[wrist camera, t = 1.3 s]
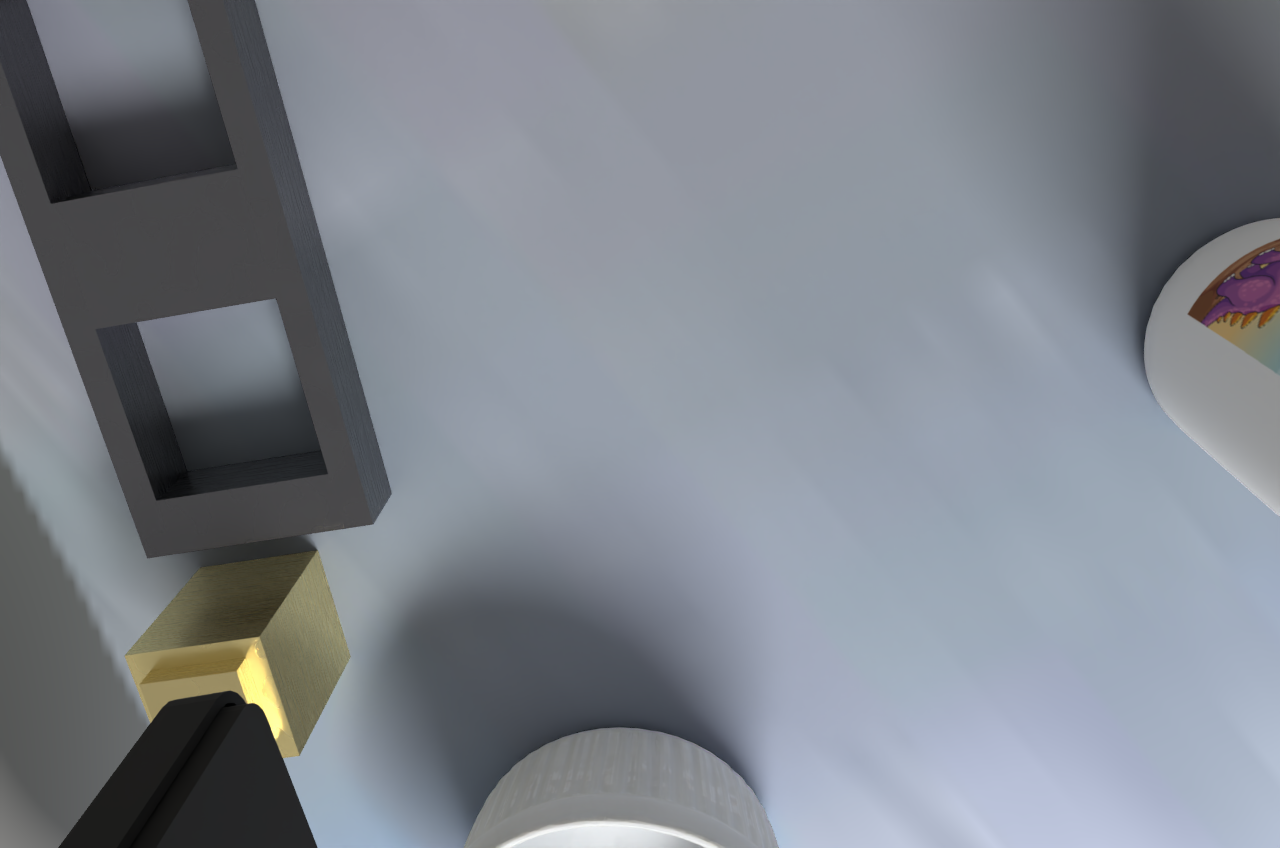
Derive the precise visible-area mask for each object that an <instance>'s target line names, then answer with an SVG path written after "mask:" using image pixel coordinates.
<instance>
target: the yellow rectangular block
mask: <svg viewBox="0 0 1280 848" xmlns="http://www.w3.org/2000/svg"><path fill="white" fill-rule="evenodd" d="M125 658H126V661H127V663H128V666H129V669H130V671H131V674H132V676H133V679H134V682H135V684H136V687H137V689H138V692H139V694H140V697H141V700H142V702H143V705H144V707H145V710H146V713H147V715H148V718H149V720H150V723H151V722H152V721H153V719H154V718H155V717H156V715H157V714H158V712H159V711H160V710H161V708H162V707H163V706H164V705H166V704H167V703H168V702H169V701H172V700H176V699H182V698H188V697H194V696H200V695H206V694H212V693H218V692H224V691H230V690H231V691H233V692H236V693H238V694H239V695H240V696H241V697H242V698H243V699H244V700H245V702H246V704H248V703H255V704H257V705H259V706H260V707H261V708H262V709H263V711H264V713H265V715H266V717H267V719H268V722H269V724H270V727H271V730H272V732H273V735H274V737H275V740H276V742H277V745H278V748H279V750H280V753H281V755H282V758H286V757H294V756H300V754H301V752H302V750H303V748H304V746H305V744H306V742H307V740H308V738H309V736H310V734H311V732H312V731H313V729H314V727H315V725H316V723H317V721H318V719H319V717H320V715H321V713H322V711H323V709H324V707H325V705H326V703H327V701H328V700H329V698H330V696H331V694H332V692H333V690H334V688H335V686H336V684H337V682H338V680H339V678H340V676H341V674H342V672H343V671H344V669H345V667H346V665H347V663H348V661H349V659H350V653H349V650H348V647H347V644H346V640H345V637H344V634H343V631H342V627H341V624H340V621H339V618H338V614H337V611H336V608H335V605H334V601H333V598H332V595H331V592H330V588H329V585H328V582H327V579H326V575H325V572H324V569H323V566H322V562H321V559H320V556H319V552H318V550H316V551H309V552H302V553H296V554H289V555H282V556H275V557H269V558H262V559H255V560H248V561H242V562H235V563H228V564H221V565H215V566H208V567H201V568H200V569H199V570H198V571H197V572H196V573H195V574H194V576H193V577H192V578H191V579H190V580H189V581H188V583H187V584H186V585H185V586H184V587H183V588H182V590H181V591H180V592H179V593H178V594H177V595H176V596H175V598H174V599H173V600H172V601H171V602H170V603H169V605H168V606H167V607H166V608H165V609H164V610H163V612H162V613H161V614H160V615H159V616H158V617H157V619H156V620H155V621H154V622H153V623H152V624H151V626H150V627H149V628H148V629H147V630H146V631H145V633H144V634H143V635H142V636H141V637H140V638H139V640H138V641H137V642H136V643H135V644H134V645H133V647H132V648H131V649H130V650H129V651H128V652H127V654H126V655H125Z"/></svg>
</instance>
